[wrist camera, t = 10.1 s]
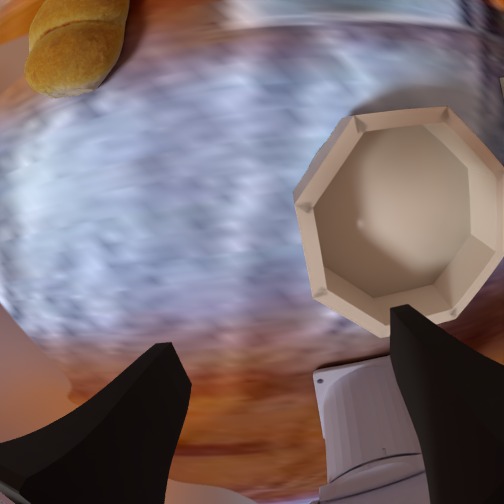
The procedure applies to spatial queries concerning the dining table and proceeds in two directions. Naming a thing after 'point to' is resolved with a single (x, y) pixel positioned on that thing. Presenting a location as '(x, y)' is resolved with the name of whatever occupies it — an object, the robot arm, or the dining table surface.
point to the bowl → (401, 216)
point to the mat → (502, 84)
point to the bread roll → (74, 45)
